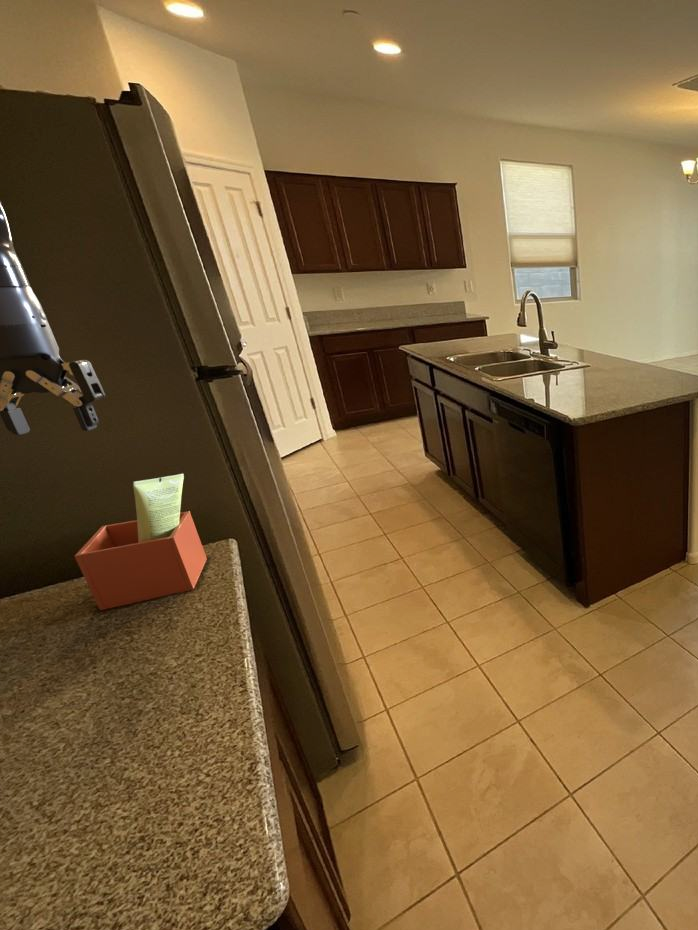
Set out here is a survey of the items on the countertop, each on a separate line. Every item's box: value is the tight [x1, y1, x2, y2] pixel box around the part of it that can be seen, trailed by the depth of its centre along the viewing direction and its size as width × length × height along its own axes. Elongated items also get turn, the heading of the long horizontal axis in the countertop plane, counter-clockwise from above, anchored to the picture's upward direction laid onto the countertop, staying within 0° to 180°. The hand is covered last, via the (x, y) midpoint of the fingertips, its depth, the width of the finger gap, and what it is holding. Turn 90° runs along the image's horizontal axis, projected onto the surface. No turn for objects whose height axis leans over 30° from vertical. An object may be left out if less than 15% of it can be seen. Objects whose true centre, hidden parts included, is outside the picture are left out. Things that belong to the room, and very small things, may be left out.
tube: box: [132, 473, 185, 543], centre depth 91 cm, size 6×5×20 cm
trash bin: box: [74, 510, 208, 611], centre depth 92 cm, size 12×12×11 cm
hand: (56, 431), depth 80 cm, fingers open, 8 cm apart
